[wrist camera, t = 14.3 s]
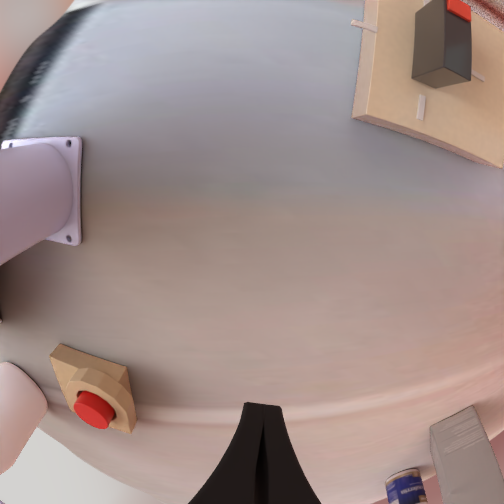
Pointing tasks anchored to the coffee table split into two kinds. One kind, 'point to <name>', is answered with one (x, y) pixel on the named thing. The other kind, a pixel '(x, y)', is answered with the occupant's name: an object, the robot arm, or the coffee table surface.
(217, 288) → the coffee table surface
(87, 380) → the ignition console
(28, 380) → the wine bottle
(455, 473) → the cosmetic box
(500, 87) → the tan slotted base
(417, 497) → the pill bottle
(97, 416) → the button
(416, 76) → the dark upright block
